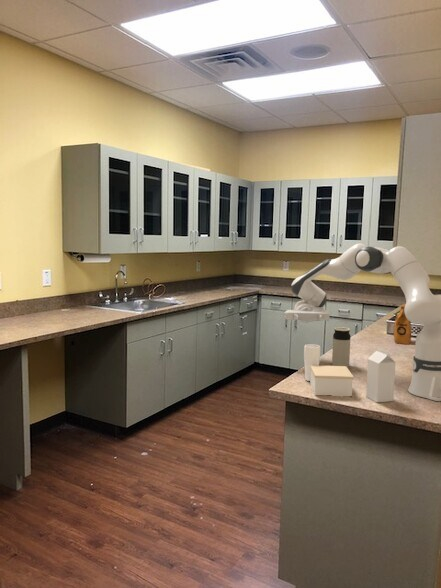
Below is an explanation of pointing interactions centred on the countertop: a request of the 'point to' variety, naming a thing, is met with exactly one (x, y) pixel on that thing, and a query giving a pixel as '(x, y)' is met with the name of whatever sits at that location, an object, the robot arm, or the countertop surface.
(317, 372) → the painted box
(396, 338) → the coffee package
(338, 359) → the travel mug
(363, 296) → the countertop surface
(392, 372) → the milk carton
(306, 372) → the white ceramic cup
